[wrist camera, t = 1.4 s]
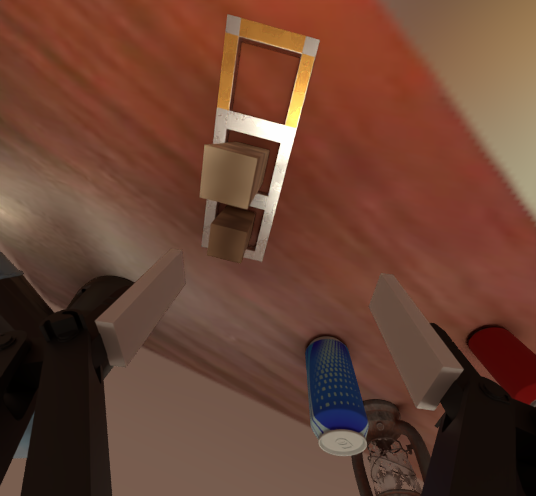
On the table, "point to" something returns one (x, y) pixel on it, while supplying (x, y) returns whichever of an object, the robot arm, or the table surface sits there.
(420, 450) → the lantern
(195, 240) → the table surface
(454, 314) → the table surface
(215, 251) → the walnut peg
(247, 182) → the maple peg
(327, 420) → the beer can
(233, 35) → the white yellow rectangular frame
